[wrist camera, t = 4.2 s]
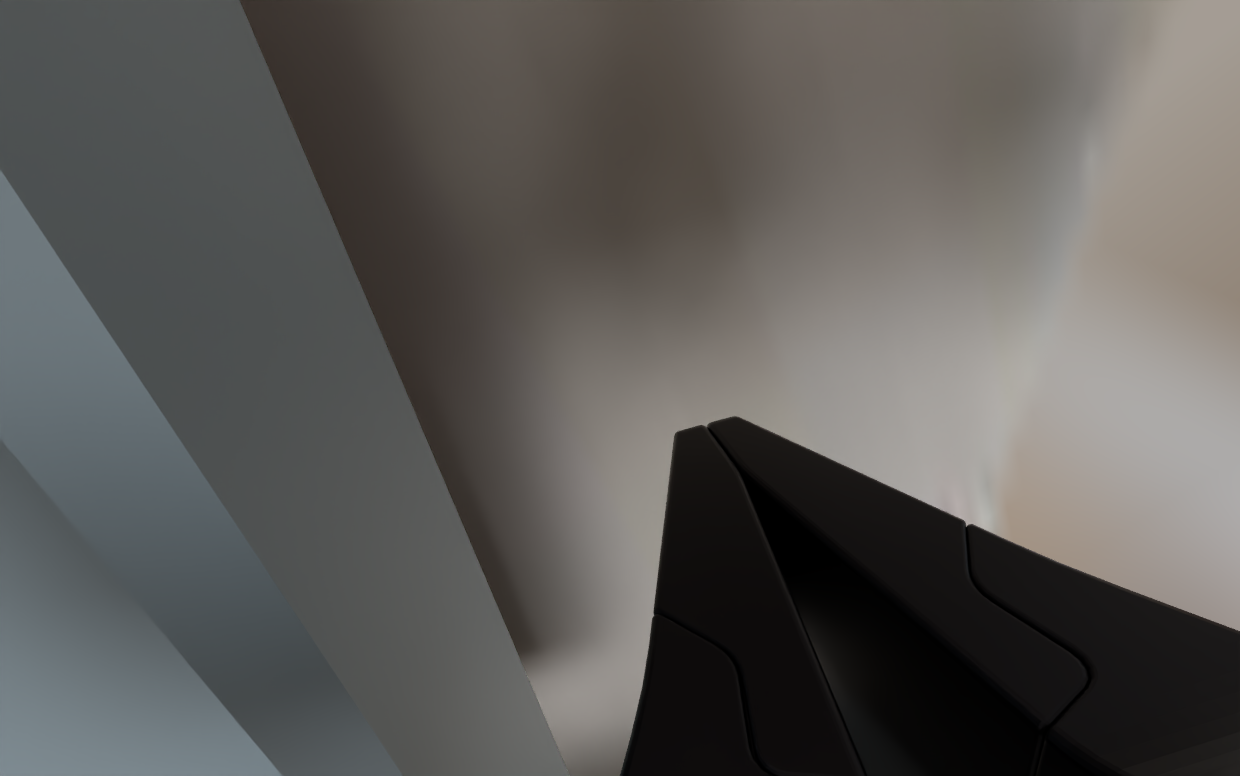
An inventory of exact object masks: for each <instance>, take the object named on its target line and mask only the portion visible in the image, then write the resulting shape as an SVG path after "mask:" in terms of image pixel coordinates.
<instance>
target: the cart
mask: <svg viewBox="0 0 1240 776" xmlns="http://www.w3.org/2000/svg"><path fill="white" fill-rule="evenodd" d="M0 776H570V775H569V773H568V770H567V768H566V766H565V763H564V761H563V759H562V756H561V754H560V752H559V749H558V747H557V745H556V742H555V740H554V738H553V735H552V733H551V731H550V728H549V726H548V723H547V721H546V719H545V716H544V714H543V712H542V709H541V707H540V705H539V702H538V700H537V698H536V695H535V693H534V691H533V688H532V686H531V684H530V681H529V679H528V677H527V674H526V672H525V669H524V667H523V665H522V662H521V660H520V658H519V655H518V653H517V651H516V648H515V646H514V644H513V641H512V639H511V637H510V634H509V632H508V630H507V627H506V625H505V623H504V620H503V618H502V615H501V613H500V611H499V608H498V606H497V604H496V601H495V599H494V597H493V594H492V592H491V590H490V587H489V585H488V583H487V580H486V578H485V576H484V573H483V571H482V569H481V566H480V564H479V561H478V559H477V557H476V554H475V552H474V550H473V547H472V545H471V543H470V540H469V538H468V536H467V533H466V531H465V529H464V526H463V524H462V522H461V519H460V517H459V515H458V512H457V510H456V507H455V505H454V503H453V500H452V498H451V496H450V493H449V491H448V489H447V486H446V484H445V482H444V479H443V477H442V475H441V472H440V470H439V468H438V465H437V463H436V461H435V458H434V456H433V453H432V451H431V449H430V446H429V444H428V442H427V439H426V437H425V435H424V432H423V430H422V428H421V425H420V423H419V421H418V418H417V416H416V414H415V411H414V409H413V407H412V404H411V402H410V399H409V397H408V395H407V392H406V390H405V388H404V385H403V383H402V381H401V378H400V376H399V374H398V371H397V369H396V367H395V364H394V362H393V360H392V357H391V355H390V353H389V350H388V348H387V345H386V343H385V341H384V338H383V336H382V334H381V331H380V329H379V327H378V324H377V322H376V320H375V317H374V315H373V313H372V310H371V308H370V306H369V303H368V301H367V299H366V296H365V294H364V291H363V289H362V287H361V284H360V282H359V280H358V277H357V275H356V273H355V270H354V268H353V266H352V263H351V261H350V259H349V256H348V254H347V252H346V249H345V247H344V245H343V242H342V240H341V237H340V235H339V233H338V230H337V228H336V226H335V223H334V221H333V219H332V216H331V214H330V212H329V209H328V207H327V205H326V202H325V200H324V198H323V195H322V193H321V191H320V188H319V186H318V183H317V181H316V179H315V176H314V174H313V172H312V169H311V167H310V165H309V162H308V160H307V158H306V155H305V153H304V151H303V148H302V146H301V144H300V141H299V139H298V137H297V134H296V132H295V129H294V127H293V125H292V122H291V120H290V118H289V115H288V113H287V111H286V108H285V106H284V104H283V101H282V99H281V97H280V94H279V92H278V90H277V87H276V85H275V83H274V80H273V78H272V75H271V73H270V71H269V68H268V66H267V64H266V61H265V59H264V57H263V54H262V52H261V50H260V47H259V45H258V43H257V40H256V38H255V36H254V33H253V31H252V29H251V26H250V24H249V21H248V19H247V17H246V14H245V12H244V10H243V7H242V5H241V3H240V0H0Z"/></svg>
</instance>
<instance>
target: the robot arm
mask: <svg viewBox="0 0 1240 776" xmlns="http://www.w3.org/2000/svg"><path fill="white" fill-rule="evenodd" d="M620 776H1240V631H1238V630H1235V629H1232V628H1229V627H1227V626H1224V625H1222V624H1219V623H1216V622H1214V621H1211V620H1208V619H1206V618H1203V617H1200V616H1197V615H1195V614H1192V613H1189V612H1187V611H1184V610H1181V609H1178V608H1176V607H1173V606H1170V605H1168V604H1165V603H1163V602H1160V601H1157V600H1155V599H1152V598H1149V597H1147V596H1144V595H1141V594H1139V593H1136V592H1133V591H1130V590H1128V589H1125V588H1123V587H1120V586H1118V585H1115V584H1112V583H1110V582H1107V581H1105V580H1102V579H1100V578H1097V577H1095V576H1092V575H1089V574H1087V573H1084V572H1082V571H1079V570H1077V569H1074V568H1071V567H1069V566H1067V565H1064V564H1061V563H1059V562H1056V561H1054V560H1052V559H1050V558H1047V557H1045V556H1043V555H1040V554H1038V553H1036V552H1033V551H1031V550H1029V549H1026V548H1024V547H1022V546H1020V545H1017V544H1015V543H1013V542H1011V541H1008V540H1006V539H1004V538H1002V537H999V536H997V535H995V534H993V533H991V532H989V531H986V530H984V529H982V528H980V527H978V526H975V525H973V524H969V525H968V526H967V527H966V523H965V521H964V520H962V519H960V518H957V517H955V516H953V515H951V514H949V513H947V512H944V511H942V510H940V509H938V508H936V507H934V506H931V505H929V504H927V503H925V502H923V501H920V500H918V499H916V498H914V497H912V496H910V495H907V494H905V493H903V492H901V491H899V490H897V489H894V488H892V487H890V486H888V485H886V484H883V483H881V482H879V481H877V480H875V479H873V478H870V477H868V476H866V475H864V474H862V473H860V472H857V471H855V470H853V469H851V468H849V467H847V466H844V465H842V464H840V463H838V462H836V461H833V460H831V459H829V458H827V457H825V456H823V455H820V454H818V453H816V452H814V451H812V450H810V449H807V448H805V447H803V446H801V445H799V444H796V443H794V442H792V441H790V440H788V439H786V438H783V437H781V436H779V435H777V434H775V433H773V432H770V431H768V430H766V429H764V428H762V427H759V426H757V425H755V424H753V423H751V422H749V421H746V420H744V419H742V418H740V417H737V416H733V417H729V418H725V419H722V420H718V421H714V422H711V423H709V424H708V425H707V427H705V426H703V425H699V426H696V427H692V428H688V429H684V430H681V431H678V432H676V433H675V436H674V443H673V451H672V460H671V468H670V477H669V485H668V494H667V502H666V511H665V519H664V528H663V536H662V544H661V553H660V561H659V570H658V578H657V587H656V595H655V604H654V616H653V618H652V626H651V634H650V642H649V649H648V655H647V661H646V668H645V674H644V680H643V686H642V691H641V695H640V699H639V704H638V708H637V712H636V716H635V721H634V725H633V729H632V733H631V738H630V741H629V745H628V749H627V752H626V756H625V759H624V763H623V767H622V770H621V774H620Z"/></svg>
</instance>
